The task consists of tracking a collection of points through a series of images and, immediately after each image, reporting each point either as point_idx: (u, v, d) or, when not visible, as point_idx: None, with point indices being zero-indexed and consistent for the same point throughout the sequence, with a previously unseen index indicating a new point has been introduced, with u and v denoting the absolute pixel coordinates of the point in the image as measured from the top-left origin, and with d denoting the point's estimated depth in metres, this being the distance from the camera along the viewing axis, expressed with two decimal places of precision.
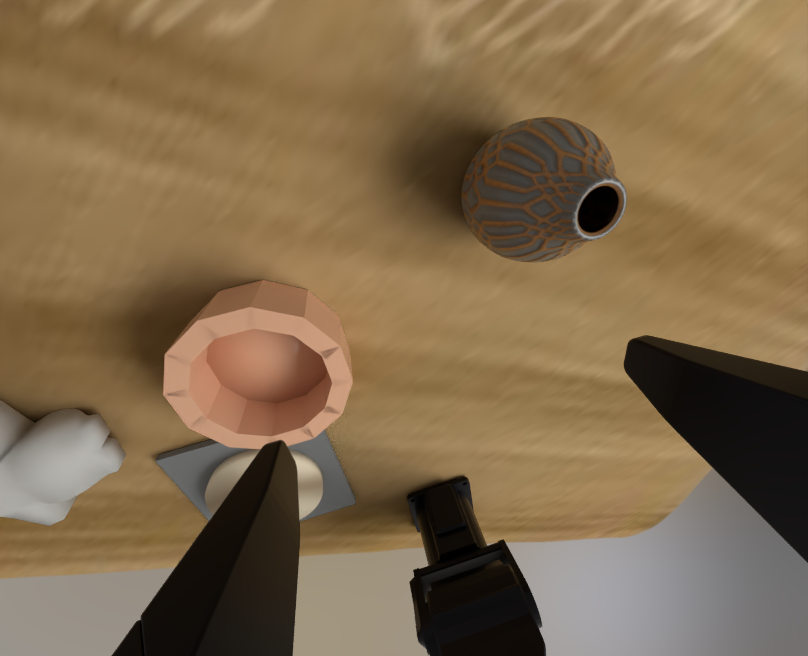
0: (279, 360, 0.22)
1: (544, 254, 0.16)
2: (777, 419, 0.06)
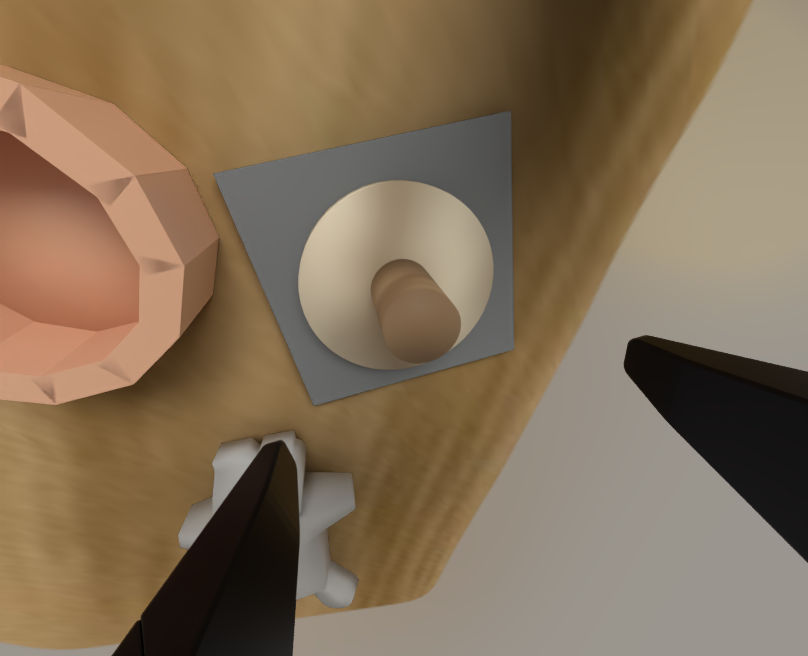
0: (62, 224, 0.12)
1: None
2: (777, 419, 0.06)
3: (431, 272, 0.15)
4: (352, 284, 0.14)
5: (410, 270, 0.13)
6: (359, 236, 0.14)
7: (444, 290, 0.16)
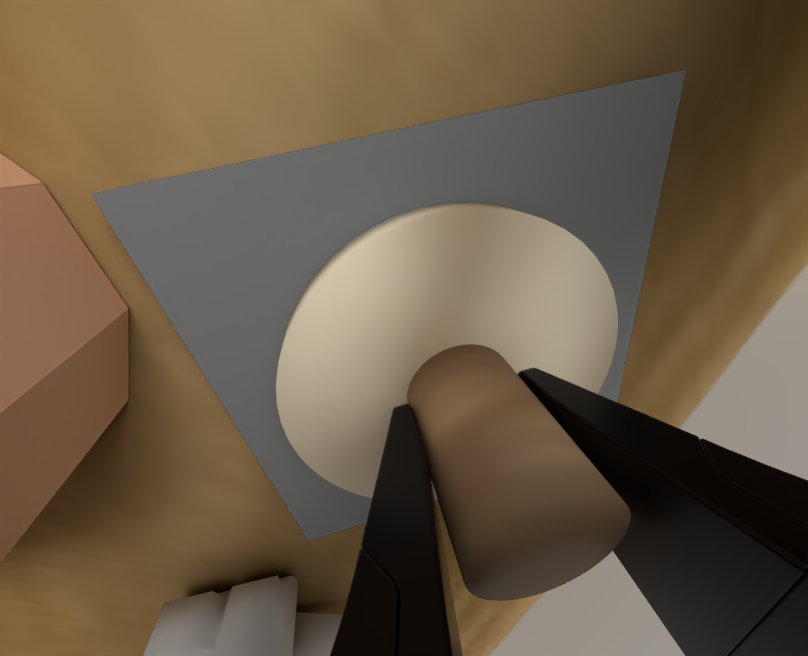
0: None
1: None
2: (619, 470, 0.05)
3: (512, 362, 0.08)
4: (375, 389, 0.08)
5: (496, 386, 0.07)
6: (391, 311, 0.07)
7: None
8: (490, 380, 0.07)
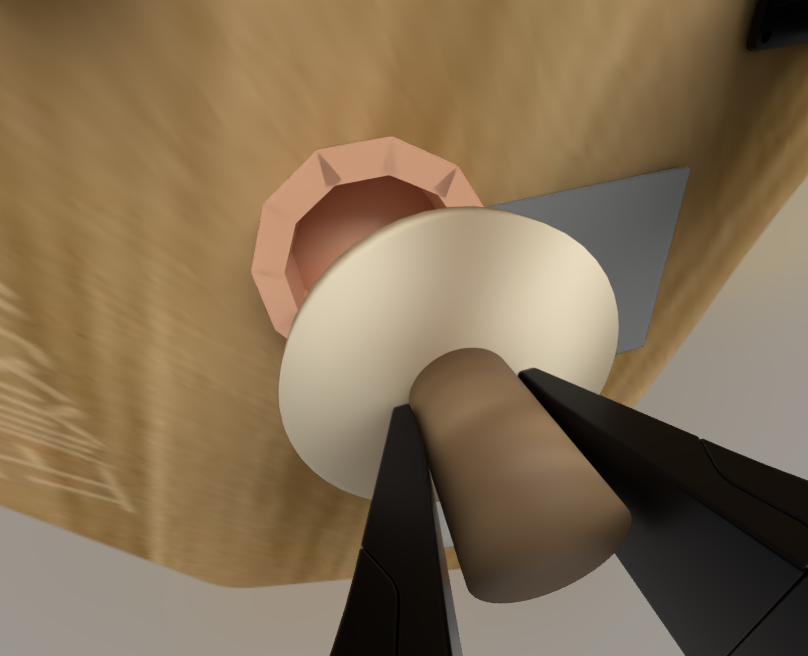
0: None
1: None
2: (619, 470, 0.05)
3: (514, 365, 0.09)
4: (377, 393, 0.08)
5: (498, 390, 0.07)
6: (393, 315, 0.07)
7: None
8: (492, 384, 0.07)
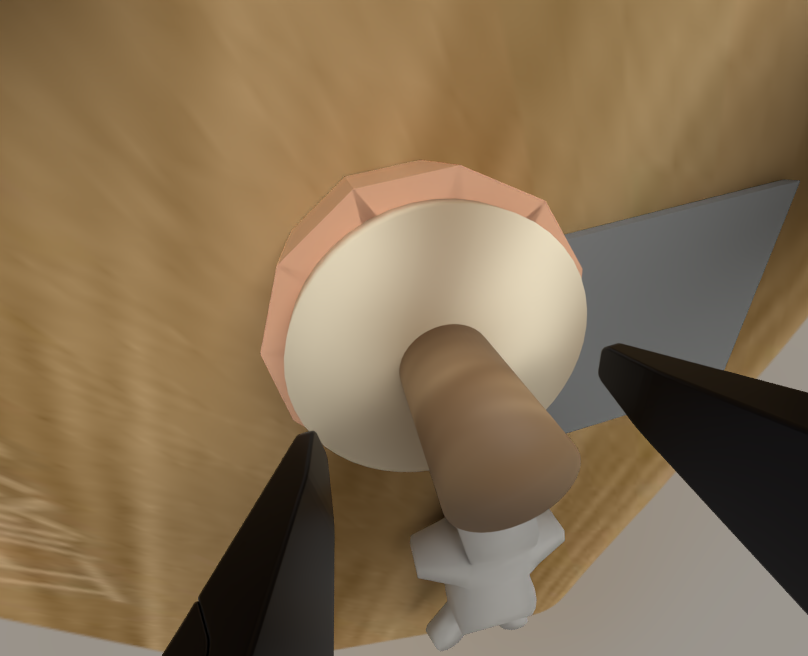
0: None
1: None
2: (739, 431, 0.06)
3: (493, 341, 0.10)
4: (371, 364, 0.09)
5: (474, 356, 0.08)
6: (384, 293, 0.08)
7: (510, 364, 0.10)
8: (469, 352, 0.08)
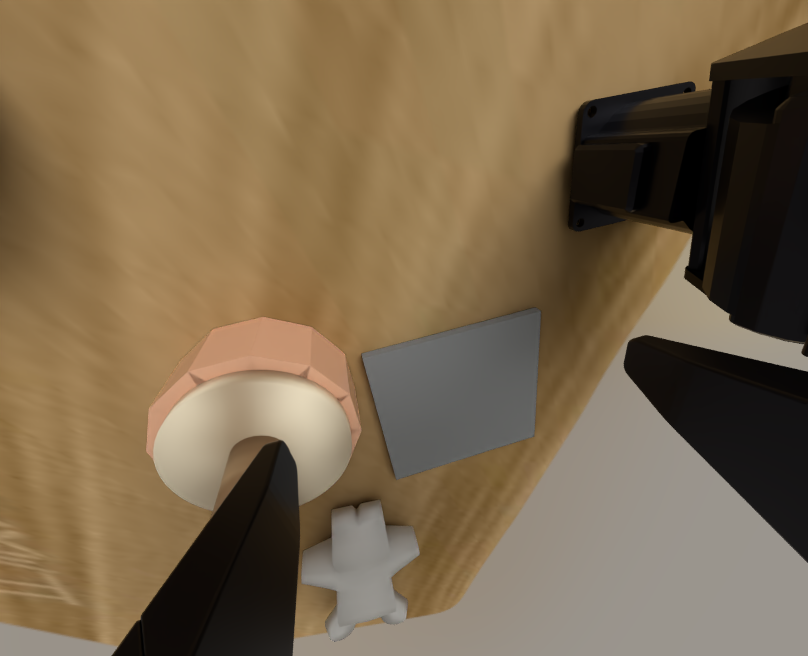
0: None
1: None
2: (777, 419, 0.06)
3: (287, 441, 0.16)
4: (210, 458, 0.16)
5: None
6: (208, 425, 0.15)
7: (304, 452, 0.17)
8: (250, 459, 0.14)
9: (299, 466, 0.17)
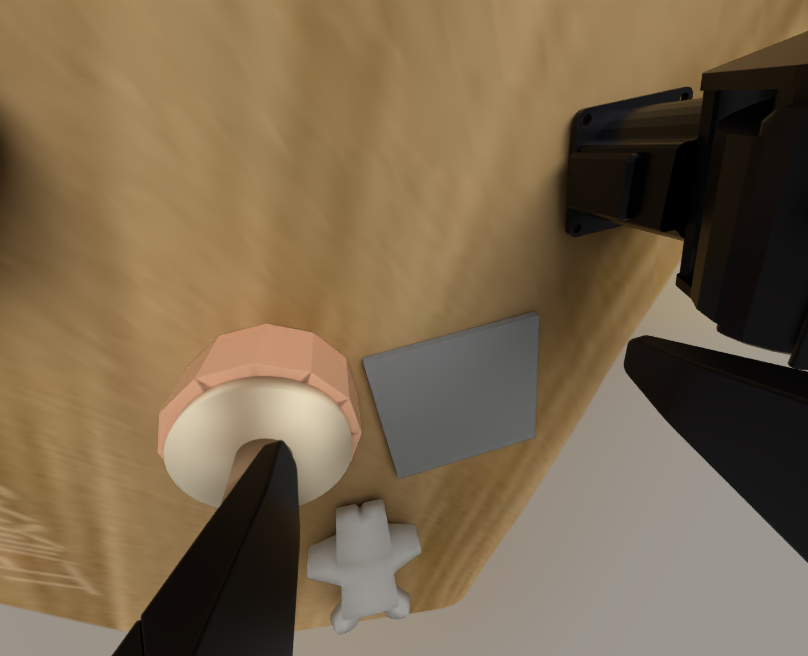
0: None
1: None
2: (777, 419, 0.06)
3: (290, 444, 0.17)
4: (217, 460, 0.16)
5: None
6: (214, 428, 0.16)
7: (306, 454, 0.18)
8: None
9: (302, 467, 0.18)
